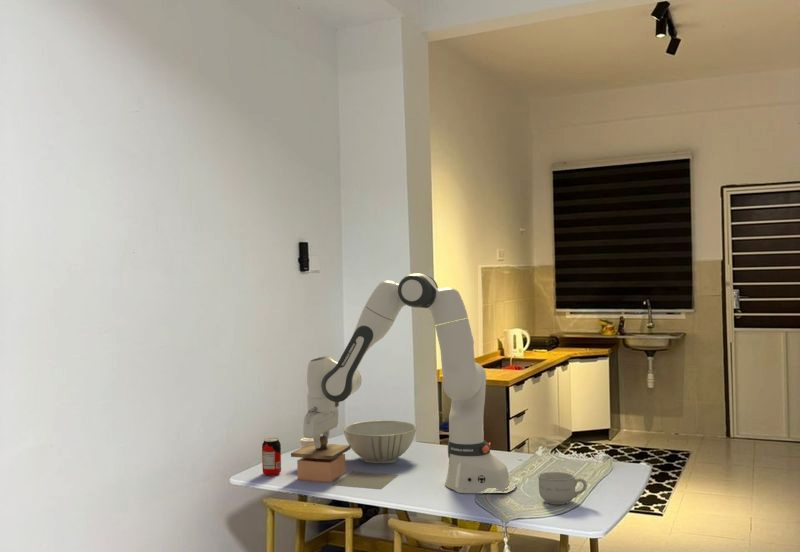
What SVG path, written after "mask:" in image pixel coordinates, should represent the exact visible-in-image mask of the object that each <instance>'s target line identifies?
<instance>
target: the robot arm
mask: <svg viewBox="0 0 800 552" xmlns="http://www.w3.org/2000/svg"><path fill="white" fill-rule="evenodd" d="M405 306H408V307H411V308H418V309H420V308H422V309H428V310H429V311H430V313H431V315H432V319H433V322H434V323H433V324H434V327H435V332H436V336H437V340H438V344H439V350H440V362H441V371H442V389H443V391H444V394H445V395H446V396H447V398H449V399H451V402H450V403H451V404H450V411H449V415H448V431H449V433H448V435H449V436H448V438H449V440H447V455H448V468H447V469H448V470H447V475H446V479H445V482H444V486H445V487H447V488H448V489H451V490H454V491H455V492H456V493H458V494H479V493H478V492H481V491H484V490H485V489H487V488H496V489H498V490H496V491H502V492H504V491H507V490H508V489H505V488H507V487H508V486H509V483H510V481H509V479H510V475H509V470H508V468H507V466H506V464H505V463H504V462H503V461H501V460H500V459H498V458H497V457H496V456H495V455H494V454H492V453H491V442H490V441H489V443H488V442H487V441H486V440H484V439H485V437H484V436H485V435H484V434H485V433H484V432H485V431H484V416H485V415H484V412H485V404H486V402H485V401H486V389H487V388H486V387H487V386H486V385H487V373H486V370H485V368H484V367H483V366H482V365H481V364H479V363H478V362H476V359H475V350H474V348H475V347H474V346H475V345H474V344H475V341H474V337H473V333H472V327H471V324H470V320H469V315H468V312H467V309H466V306H465V303H464V300H463V299H462V295H461V294H460V292H459V291H458V290H457V289H455V288H452V287H444V288H439V287H438V284H437V282H436V280H434V278H432V277H431V276H429V275H426V274H423V273H410V274H407V275H405V276H404V277H403V278H402V279H400V281H399V283H398V282H394V281H393V280H383V281H380V282H379V284H378V285H377V286H376V287H375V288H374V289H373V291H372V293H371V294H370V296H369V298H368V300H367V301H366V303H365V305H364V307H363V309H362V311H361V313H360V315H359V318H358V321H357V323H356V326H355V328H354V331H353V333H352V336H351V337H350V339H349V341H348V343H347V346H346V347H345V349H344V351H343V353H342V355H341V356H340V358H339V360H338V361H336V360H335V359H333V358H332V357H330V356H327V355H325V356H320V357H316V358H313V359H310V361H309V362H308V365H307V372H306V373H307V374H306V385H307V389H308V391H307V392H308V393H307V396H306V397H307V398H306V399H307V413H306V414H305V416H304V418H303V431H302V434H303V438H313V440H314V442H315V448H320V447H321V446H322V445H321V444H322V442H320V436H326V437H327V444H329V436H330V431H331V430H333V429H335V428H337V427H338V425H339V408H338V407H340V402H341V403H342V402H343V401H345V400H346V399H348V398H349V397H350V396H351V395H353V394H355V392H357V391H358V390H359V389H360V387H361V385H362V376H361V373H360V372H359V370H357V369H358V368H359V366H360V364H361V363H362V360H363V358H364V356H365V355H366V353H367V352H368V351H369V350H370V348H371V347H372V346H374V345H375V344H377V342H379V341H381V340H382V339H383V338H384V337H385V336H386V335H387V333H388V332H389V331H390V329H391V328H392V326H393V325H394V323H395V321H396V319H397V317H398V315H399V312H401V309H403V307H405ZM512 486H513V485H512ZM512 486H511V487H512ZM511 487H510V488H511ZM513 487H514V486H513ZM513 487H512V488H513Z"/></svg>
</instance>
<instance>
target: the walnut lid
mask: <svg viewBox="0 0 800 552" xmlns="http://www.w3.org/2000/svg"><path fill="white" fill-rule="evenodd" d="M320 442H322V444H321V445H322V446H321V447H320V448H315V443H310V444H308V445H306V446H304V447H302V446H301V448H299V449H296V450H294V451H292V452H291V453H290V457H291V458H292V457H293V458H300V459H301V458H316V459H330V460H333V459H335V458H336V457H338V456H340V455H341V454H345V453H346V452H348V451H349V450H352V448H351V445H349V444H348V445H347V444H333V443H328V444H327V437H326V436H323V435H320Z"/></svg>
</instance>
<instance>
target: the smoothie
mask: <svg viewBox="0 0 800 552" xmlns="http://www.w3.org/2000/svg"><path fill="white" fill-rule="evenodd" d="M299 441H300V445H301V448H302V447H304V446H306V445H308V444H310V443H315V442H314V440H313V438H305V437H302V438H301V439H300V440H299Z"/></svg>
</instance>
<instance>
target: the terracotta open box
mask: <svg viewBox="0 0 800 552" xmlns="http://www.w3.org/2000/svg"><path fill="white" fill-rule="evenodd" d="M296 466H297V481H305V482H317V483H330V484H331V483H333V482H334V481H336V480H337V479H339V478H340V477H341V476H344V474H346V454H345V453H343V454H341V455H340V456H338V457H336V458H335V459H333V460H330V459H316V458H301V457H300V459H298V460H297V465H296Z"/></svg>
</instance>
